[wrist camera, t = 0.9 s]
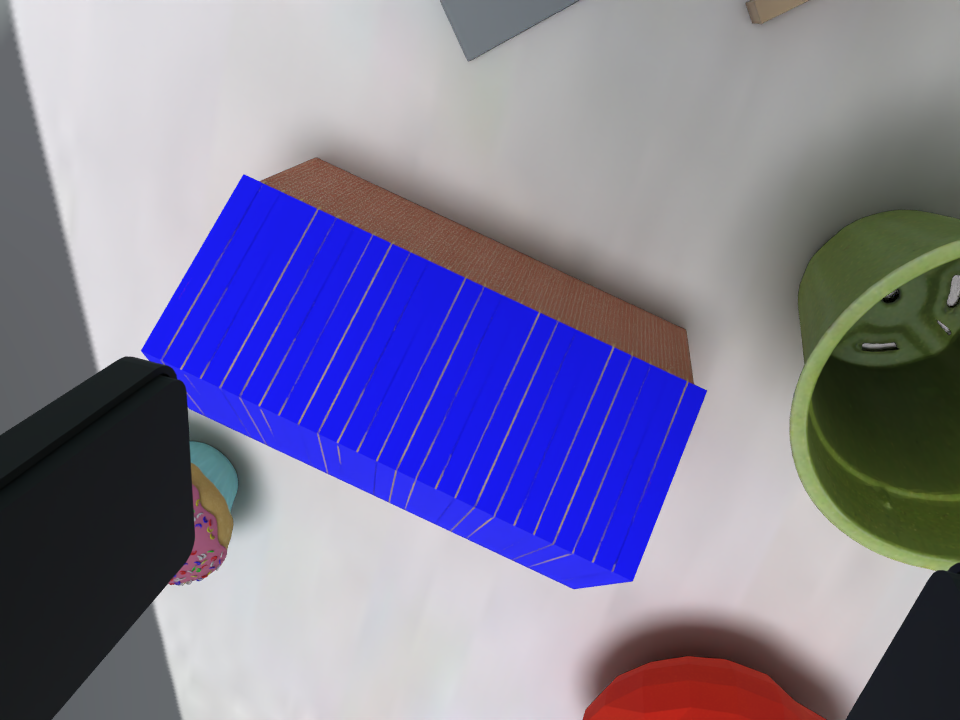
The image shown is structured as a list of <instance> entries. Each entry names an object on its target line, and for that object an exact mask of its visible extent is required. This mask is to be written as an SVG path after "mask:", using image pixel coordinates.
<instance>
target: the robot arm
mask: <svg viewBox="0 0 960 720" xmlns="http://www.w3.org/2000/svg"><path fill="white" fill-rule="evenodd" d="M194 542H195V525H194V508H193V491H192V474H191V457H190V440H189V423H188V406H187V391H186V386H185V384H184V383H183V382H182V381H181V380H178V379H177V375H176V373H175V371H174V369H173V368H171V367H170V366H167V365H163V364H159V363H155V362H151V361H147V360H143V359H139V358H135V357H123V358H121V359H119V360H117V361H115V362H114V363H112V364H111V365H109V366H108V367H106V368H105V369H103V370H101V371H100V372H98V373H97V374H95V375H94V376H92V377H91V378H89V379H87V380H86V381H84V382H83V383H81V384H80V385H78V386H77V387H75V388H73V389H72V390H70V391H69V392H67V393H66V394H64V395H63V396H61V397H59V398H58V399H56V400H55V401H53V402H52V403H50V404H48V405H47V406H45V407H44V408H42V409H41V410H39V411H37V412H36V413H35V414H33V415H32V416H30V417H28V418H27V419H25V420H24V421H22V422H20V423H19V424H17V425H16V426H14V427H12V428H11V429H10V430H8V431H6V432H5V433H3V434H2V435H0V720H52V719H53V717H54V716H55V715H56V714H57V713H58V712H59V710H60V709H61V708H62V707H63V706H64V705H65V703H66V702H67V701H68V700H69V699H70V698H71V696H72V695H73V694H74V693H75V692H76V690H77V689H78V688H79V687H80V686H81V684H82V683H83V682H84V681H85V680H86V679H87V678H88V676H89V675H90V674H91V673H92V672H93V671H94V669H95V668H96V667H97V666H98V665H99V664H100V662H101V661H102V660H103V659H104V658H105V657H106V655H107V654H108V653H109V652H110V651H111V650H112V648H113V647H114V646H115V645H116V643H118V641H119V640H120V639H121V638H122V637H123V636H124V634H125V633H126V632H127V631H128V630H129V628H130V627H131V626H132V625H133V624H134V623H135V622H136V620H137V619H138V618H139V617H140V616H141V614H142V613H143V612H144V611H145V610H146V609H147V607H148V606H149V605H150V604H151V603H152V602H153V601H154V599H155V598H156V597H157V596H158V595H159V594H160V592H161V591H162V590H163V589H164V588H165V587H166V585H167V584H168V583H169V582H170V581H171V580H172V578H173V577H174V576H175V575H176V574H177V573H178V571H179V570H180V569H181V568H182V567H183V566H184V564H185V563H186V561H187V560H188V558H189V556H190V554H191V552H192V549H193V546H194ZM846 720H960V562H959V563H956V564H954V565H953V566H951V567H950V568H949V570H948V571H945V570H938V571H936V572H935V573H933V574H932V576H931V577H930V578H929V580H928V581H927V583H926V585H925V586H924V588H923V590H922V591H921V593H920V595H919V596H918V598H917V600H916V602H915V603H914V605H913V607H912V608H911V610H910V612H909V613H908V615H907V617H906V618H905V620H904V622H903V623H902V625H901V627H900V629H899V630H898V632H897V634H896V635H895V637H894V639H893V640H892V642H891V644H890V645H889V647H888V649H887V650H886V652H885V654H884V656H883V657H882V659H881V661H880V662H879V664H878V666H877V667H876V669H875V671H874V672H873V674H872V676H871V677H870V679H869V681H868V683H867V684H866V686H865V688H864V689H863V691H862V693H861V694H860V696H859V698H858V699H857V701H856V703H855V704H854V706H853V708H852V710H851V711H850V713H849V715H848V716H847V718H846Z"/></svg>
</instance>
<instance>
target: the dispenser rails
mask: <svg viewBox="0 0 960 720" xmlns="http://www.w3.org/2000/svg"><path fill="white" fill-rule="evenodd" d="M807 1H809V0H750V1H748V2H746V6H747V9H748V12H749V15H750V18H751V21H752V23H754V24H762V23H764V22H766V21H768V20H771V19H773V18H775V17H777V16H779V15H781V14H783V13H785V12H787V11H789V10H791V9H793V8H795V7H797V6H799V5H801V4H803V3H805V2H807Z"/></svg>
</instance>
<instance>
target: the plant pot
mask: <svg viewBox="0 0 960 720" xmlns="http://www.w3.org/2000/svg"><path fill="white" fill-rule="evenodd" d="M955 275H960V219H957V218H952V217H948V216H943V215H939V214H934V213H928V212H923V211H917V210H893V211H886V212H881V213H877V214H874V215H871V216H867V217H864V218H862V219H859V220H857V221H855V222H853V223H851V224H849V225H847V226H846V227H844V228H843V229H842V230H840V231H839V232H838V233H837V234H836V235H835V236H834V237H832V238H831V239H830V240H829V241H828V242H827V243H826V244H825V245H824V246H823V247H822V248H821V249H820V250H818V251H817V253H816V254H815V255H814V256H813V257H812V259H811V260H810V262H809V264H808V266H807V268H806V270H805V273H804V275H803V278H802V281H801V283H800V287H799V292H798V310H799V319H800V327H801V336H802V345H803V355H804V363H805V365H804V367H803V370H802V372H801V374H800V377H799V380H798V383H797V386H796V389H795V392H794V396H793V401H792V406H791V413H790V444H791V450H792V456H793V459H794V463H795V466H796V470H797V472H798V475H799V478H800V480H801V482H802V484H803V486H804V488H805V490H806V492H807V493H808V495H809V497H810V498H811V500H812V501H813V503H814V504H815V505H816V507H817V508H818V509H819V510H820V511H821V512H822V514H823V515H824V516H825V517H826V518H827V519H828V520H829V521H830V522H831V523H832V524H833V525H835V526H836V527H837V528H838V529H839V530H841V531H842V532H843V533H845V534H846V535H847V536H849V537H850V538H852V539H853V540H855V541H856V542H858V543H859V544H861V545H863V546H864V547H866V548H868V549H870V550H872V551H874V552H876V553H878V554H880V555H883V556H885V557H888V558H890V559H893V560H896V561H899V562H902V563H906V564H909V565H912V566H917V567H922V568H927V569H931V570H935V571H938V570H945V571H948V570H949V568H950V567H951V566H953V565H954V564H956V563H959V562H960V300H959V303H958V304H957V305H956V306H955V307H953V308H950V307H948V305H947V299H948V296H949V294H950V288H951V281H952V278H953V276H955ZM896 289H898V291H899V297H898V298H897V299H896V300H895V301H894V302H892V303H885V302H884V301H883V300H882V299H883V298H884V297H886V296H887V295H889V294H890V293H892V292H893V291H895V290H896ZM935 319H936V320H935ZM937 320H939V321H940V322H941V323H943V324H944V325H945V326H946V327H948V328H949V329H950V331H951V335H948V334H947V333H946V332H945V331H944V329H943V328H941V326H940V325H939V324H938V323H937ZM893 342H894V343H896V346H897V348H900V349H898V350H887V351H880V352H870V351H863V350H862V344H864V343H870V344H876V343H877V344H885V343H893Z"/></svg>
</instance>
